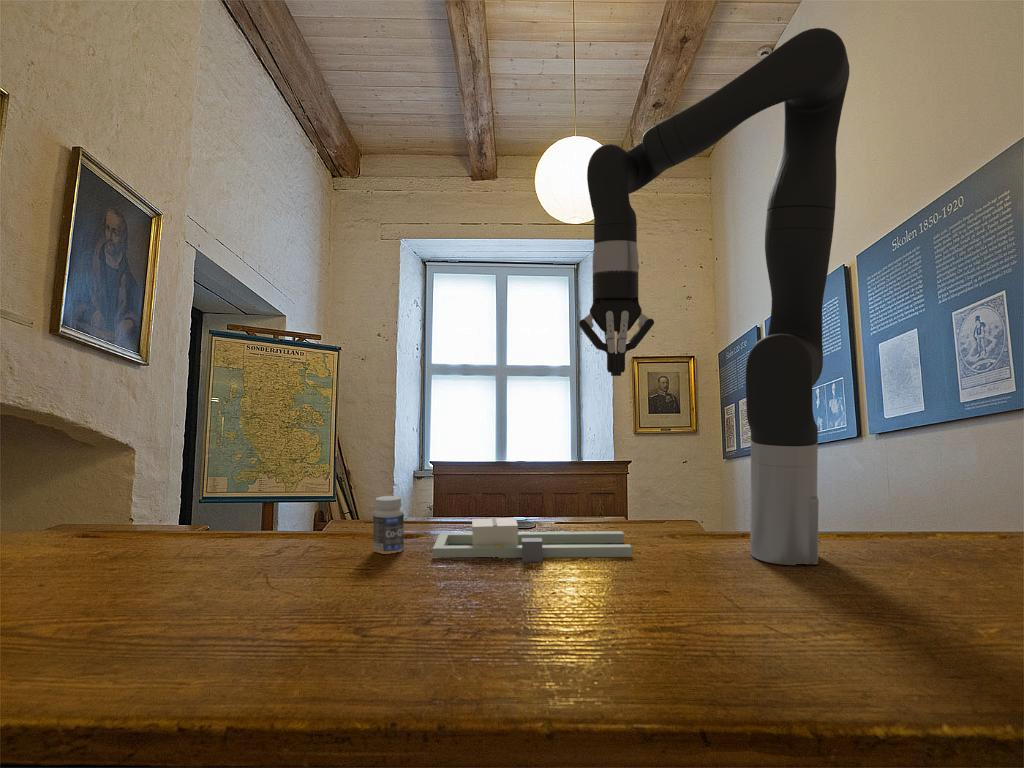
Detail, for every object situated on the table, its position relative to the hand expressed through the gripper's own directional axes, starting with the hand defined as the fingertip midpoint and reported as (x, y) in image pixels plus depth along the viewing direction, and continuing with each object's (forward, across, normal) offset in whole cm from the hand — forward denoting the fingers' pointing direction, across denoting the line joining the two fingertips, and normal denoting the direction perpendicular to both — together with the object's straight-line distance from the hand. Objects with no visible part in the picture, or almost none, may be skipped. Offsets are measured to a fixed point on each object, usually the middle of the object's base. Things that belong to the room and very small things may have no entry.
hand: (615, 375), depth 113 cm
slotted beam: (+27, +14, +8) cm, 32 cm away
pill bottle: (+27, +37, +8) cm, 47 cm away
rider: (+27, +20, +8) cm, 35 cm away
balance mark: (+26, +19, +7) cm, 33 cm away
